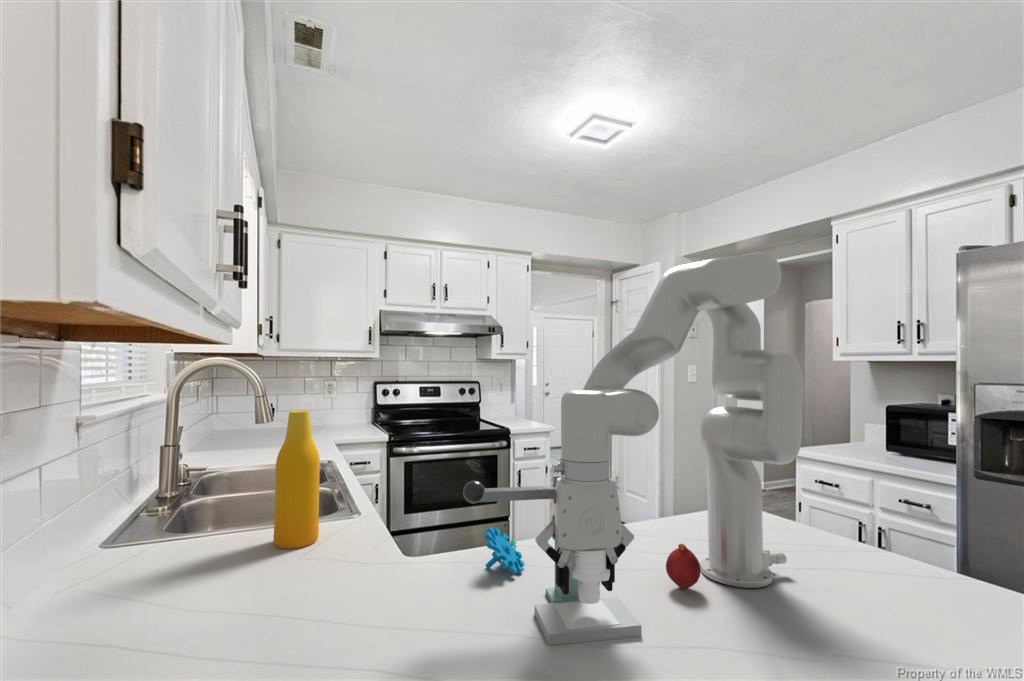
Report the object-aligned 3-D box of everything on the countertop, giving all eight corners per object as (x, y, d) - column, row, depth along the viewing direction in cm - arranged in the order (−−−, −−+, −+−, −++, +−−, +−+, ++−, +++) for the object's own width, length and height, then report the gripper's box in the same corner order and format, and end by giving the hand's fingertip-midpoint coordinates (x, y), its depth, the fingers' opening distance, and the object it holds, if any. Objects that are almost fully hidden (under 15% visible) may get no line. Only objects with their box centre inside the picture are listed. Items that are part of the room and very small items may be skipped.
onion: (676, 579, 93) (675, 535, 93) (706, 589, 89) (705, 543, 89) (660, 589, 89) (659, 543, 89) (691, 600, 85) (690, 551, 85)
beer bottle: (326, 541, 112) (329, 411, 114) (285, 553, 105) (288, 414, 107) (306, 532, 118) (308, 408, 120) (266, 542, 111) (269, 411, 113)
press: (602, 588, 89) (601, 473, 90) (641, 635, 73) (640, 495, 74) (525, 594, 86) (525, 475, 87) (548, 645, 71) (548, 500, 72)
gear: (515, 575, 90) (482, 529, 94) (492, 596, 91) (460, 549, 95) (534, 561, 101) (504, 521, 104) (514, 580, 101) (484, 539, 105)
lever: (577, 495, 88) (576, 474, 88) (583, 500, 84) (583, 479, 84) (462, 500, 84) (462, 478, 84) (464, 506, 81) (464, 483, 81)
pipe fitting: (612, 592, 79) (612, 540, 79) (607, 613, 72) (606, 556, 73) (573, 586, 81) (572, 536, 81) (563, 606, 74) (563, 551, 75)
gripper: (536, 477, 72) (536, 605, 71) (648, 473, 76) (649, 595, 75) (525, 467, 80) (525, 582, 79) (627, 464, 83) (628, 575, 82)
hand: (585, 587), depth 77 cm, fingers closed on pipe fitting, 6 cm apart
